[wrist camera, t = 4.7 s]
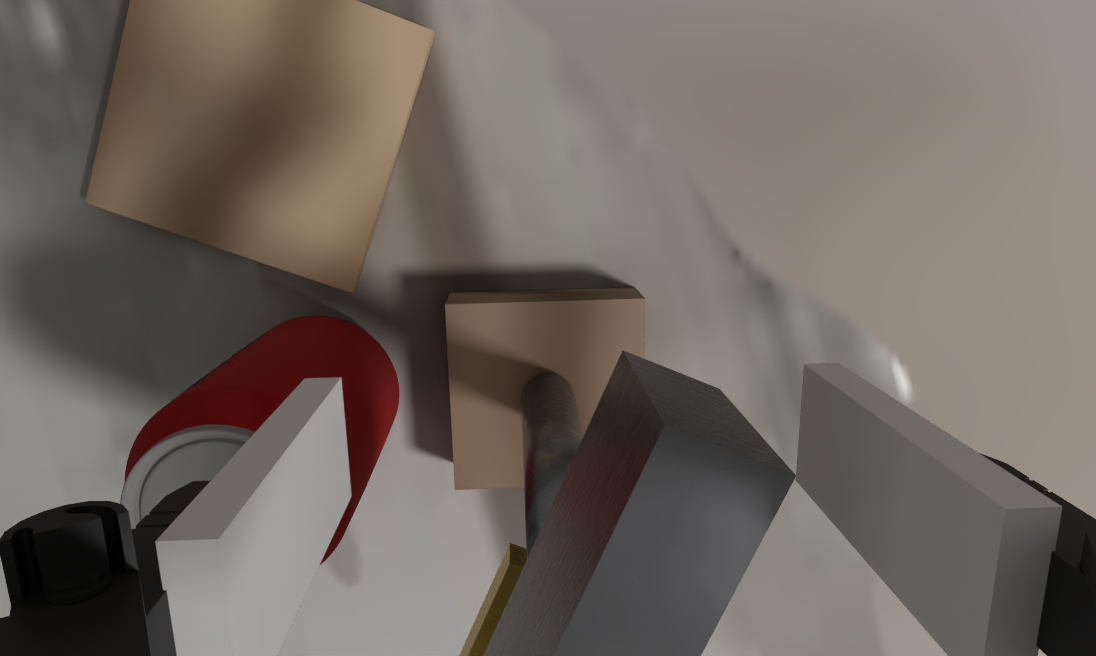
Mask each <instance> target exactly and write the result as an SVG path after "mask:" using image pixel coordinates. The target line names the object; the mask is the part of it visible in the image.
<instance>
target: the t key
mask: <svg viewBox="0 0 1096 656" xmlns="http://www.w3.org/2000/svg"><path fill="white" fill-rule="evenodd" d="M521 414H522V441H523V467H524V494H525V521H526V548H527V549H525V548H522V547H520V546H517V545H514V544H511V543H510V544H509V546H508V548H507V550H506V553H505V555H504V557H503V559H502V562H501V564H500V566H499V568H498V571H497V573H496V575H495V577H494V579H493V582H492V584H491V586H490V588H489V591H488V593H487V595H486V597H485V600H484V602H483V604H482V606H481V608H480V611H479V613H478V615H477V617H476V620H475V622H474V624H473V626H472V628H471V631H470V633H469V635H468V637H467V640H466V642H465V644H464V646H463V649H462V651H461V653H460V655H459V656H701V654H702V652H703V650H704V649H705V647H706V645H707V643H708V641H709V639H710V637H711V635H712V633H713V632H714V630H715V628H716V626H717V624H718V622H719V620H720V618H721V616H722V615H723V613H724V611H725V609H726V607H727V605H728V603H729V601H730V599H731V598H732V596H733V594H734V592H735V590H736V588H737V586H738V584H739V583H740V581H741V579H742V577H743V575H744V573H745V571H746V569H747V567H748V566H749V564H750V562H751V560H752V558H753V556H754V554H755V552H756V550H757V549H758V547H759V545H760V543H761V541H762V539H763V537H764V535H765V533H766V532H767V530H768V528H769V526H770V524H771V522H772V520H773V518H774V517H775V515H776V513H777V511H778V509H779V507H780V505H781V503H782V501H783V500H784V498H785V496H786V494H787V492H788V490H789V488H790V486H791V484H792V483H793V481H794V479H795V477H796V475H795V474H794V473H793V472H792V471H791V470H790V468H789V467H788V466H787V465H786V464H785V463H784V462H783V460H782V459H781V458H780V457H779V456H778V455H777V454H776V452H775V451H774V450H773V449H772V448H771V447H770V446H769V445H768V443H767V442H766V441H765V440H764V439H763V438H762V437H761V435H760V434H759V433H758V432H757V431H756V430H755V429H754V428H753V426H752V425H751V424H750V423H749V422H748V421H747V420H746V418H745V417H744V416H743V415H742V414H741V413H740V412H739V410H738V409H737V408H736V407H735V406H734V405H733V404H732V403H731V401H730V400H729V399H728V398H727V397H726V396H725V395H724V393H723V392H722V391H721V390H720V389H718V388H716V387H713V386H711V385H708V384H706V383H703V382H701V381H698V380H696V379H693V378H691V377H688V376H686V375H683V374H681V373H678V372H676V371H673V370H671V369H668V368H666V367H663V366H661V365H658V364H656V363H653V362H651V361H648V360H646V359H643V358H641V357H638V356H636V355H633V354H631V353H628V352H626V351H622V353H621V355H620V357H619V359H618V362H617V364H616V366H615V368H614V370H613V373H612V375H611V377H610V379H609V381H608V384H607V386H606V388H605V390H604V392H603V394H602V397H601V399H600V401H599V403H598V405H597V408H596V410H595V412H594V414H593V416H592V419H591V421H590V423H589V425H588V427H587V430H586V432H584V429H583V425H582V421H581V417H580V413H579V409H578V406H577V402H576V398H575V394H574V391H573V388H572V386H571V385H570V383H569V382H568V381H567V380H566V379H565V378H563V377H561V376H559V375H556V374H552V373H545V374H540V375H537V376H535V377H534V378H532V379H531V380H530V381H528V383H527V384H526V385H525V387H524V389H523V391H522V395H521Z"/></svg>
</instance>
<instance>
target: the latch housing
mask: <svg viewBox="0 0 1096 656" xmlns="http://www.w3.org/2000/svg"><path fill="white" fill-rule="evenodd" d="M445 317H446V335H447V353H448V372H449V390H450V408H451V427H452V445H453V463H454V482H455V490H463V489H488V488H513V487H524V467H523V441H522V414H521V395H522V391H523V389H524V387H525V385H526V384H527V383H528V381H530V380H531V379H532V378H534V377H535V376H537V375H540V374H545V373H552V374H556V375H559V376H561V377H563V378H565V379H566V380H567V381H568V382H569V383H570V385H571V386H572V388H573V391H574V394H575V398H576V402H577V406H578V409H579V413H580V417H581V421H582V425H583V429H584V432H586V430H587V427H588V425H589V423H590V421H591V419H592V416H593V414H594V412H595V410H596V408H597V405H598V403H599V401H600V399H601V397H602V394H603V392H604V390H605V388H606V386H607V384H608V381H609V379H610V377H611V375H612V373H613V370H614V368H615V366H616V364H617V362H618V359H619V357H620V355H621V353H622V351H626V352H628V353H631V354H633V355H636V356H638V357H641V358H643V359H644V355H645V298H644V297H643V296H642V295H641V293H640V292H639V291H638V290H637V289H636V288H635V287H630V288H595V289H560V290H525V291H489V292H454V293H450V294H449V296H448V298H447V301H446V303H445Z"/></svg>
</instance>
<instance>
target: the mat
mask: <svg viewBox="0 0 1096 656" xmlns="http://www.w3.org/2000/svg"><path fill="white" fill-rule="evenodd" d="M434 36H435V32H434V31H433V30H431V29H428V28H425V27H423V26H420V25H418V24H415V23H413V22H410V21H408V20H405V19H402V18H400V17H397V16H395V15H392V14H390V13H387V12H385V11H382V10H380V9H377V8H374V7H372V6H369V5H367V4H364V3H362V2H359V1H357V0H130V3H129V7H128V12H127V16H126V21H125V25H124V30H123V34H122V39H121V43H120V48H119V52H118V57H117V61H116V66H115V70H114V75H113V79H112V83H111V88H110V92H109V97H108V101H107V106H106V110H105V115H104V119H103V124H102V128H101V133H100V137H99V142H98V146H97V151H96V155H95V160H94V164H93V169H92V173H91V178H90V182H89V186H88V191H87V195H86V200H85V203H87V204H90V205H93V206H96V207H99V208H101V209H104V210H107V211H110V212H113V213H116V214H119V215H122V216H125V217H128V218H131V219H134V220H137V221H140V222H143V223H146V224H149V225H152V226H155V227H158V228H160V229H163V230H166V231H169V232H172V233H175V234H178V235H181V236H184V237H187V238H190V239H193V240H196V241H199V242H202V243H205V244H208V245H211V246H214V247H216V248H219V249H222V250H225V251H228V252H231V253H234V254H237V255H240V256H243V257H246V258H249V259H252V260H255V261H258V262H261V263H264V264H267V265H270V266H273V267H275V268H278V269H281V270H284V271H287V272H290V273H293V274H296V275H299V276H302V277H305V278H308V279H311V280H314V281H317V282H320V283H323V284H326V285H329V286H331V287H334V288H337V289H340V290H343V291H346V292H349V293H353V292H354V291H355V290H356V286H357V283H358V280H359V277H360V274H361V270H362V267H363V264H364V261H365V258H366V254H367V251H368V248H369V245H370V242H371V238H372V235H373V232H374V229H375V226H376V222H377V219H378V216H379V213H380V209H381V206H382V203H383V200H384V197H385V193H386V190H387V187H388V184H389V181H390V177H391V174H392V171H393V168H394V165H395V161H396V158H397V155H398V152H399V149H400V145H401V142H402V139H403V136H404V133H405V129H406V126H407V123H408V120H409V116H410V113H411V110H412V107H413V104H414V100H415V97H416V94H417V91H418V88H419V84H420V81H421V78H422V75H423V72H424V68H425V65H426V62H427V59H428V56H429V52H430V49H431V46H432V43H433V39H434Z"/></svg>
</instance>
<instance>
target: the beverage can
mask: <svg viewBox="0 0 1096 656" xmlns="http://www.w3.org/2000/svg"><path fill="white" fill-rule="evenodd" d="M332 377H341V378H342V390H343V401H344V413H345V425H346V436H347V448H348V460H349V471H350V483H351V494H352V497H351V499H350V501H349V503H348V505H347V507H346V509H345V512H344V514H343V516H342V518H341V520H340V522H339V524H338V527H337V529H336V531H335V533H334V535H333V537H332V539H331V542H330V544H329V546H328V548H327V550H326V552H325V554H324V557H323V559H322V561H321V563H320V565H321V564H322V563H323V562H324V561H325V560H326V559H327V558H328V557H329V556H330V555H331V554H332V552H333V551H334V550H335V548H336V547H337V546H338V544H339V542H340V541H341V539H342V537H343V535H344V533H345V530H346V529H347V527H348V525H349V523H350V520H351V518H352V516H353V514H354V512H355V510H356V507H357V505H358V503H359V501H360V499H361V497H362V494H363V492H364V490H365V488H366V486H367V483H368V481H369V479H370V476H371V474H372V472H373V469H374V467H375V465H376V463H377V460H378V458H379V456H380V453H381V451H382V449H383V446H384V444H385V441H386V439H387V436H388V434H389V432H390V429H391V427H392V424H393V422H394V419H395V416H396V413H397V410H398V404H399V384H398V379H397V375H396V371H395V369H394V366H393V364H392V362H391V360H390V358H389V356H388V355H387V353H386V352H385V350H384V349H383V348H382V347H381V345H380V344H379V343H378V342H377V341H376V340H375V339H374V338H373V337H372V336H370V335H369V334H368V333H367V332H365V331H364V330H362V329H361V328H359V327H357V326H355V325H353V324H351V323H349V322H346V321H344V320H340V319H337V318H332V317H326V316H306V317H299V318H295V319H292V320H288V321H286V322H283V323H281V324H279V325H277V326H275V327H274V328H272V329H271V330H269V331H268V332H266V333H265V334H263V335H262V336H260V337H259V338H258V339H256V340H255V341H253V342H252V343H250V344H249V345H247V346H246V347H245V348H243V349H242V350H240V351H239V352H237V353H236V354H235V355H233V356H232V357H230V358H229V359H227V360H226V361H225V362H223V363H222V364H221V365H219V366H218V367H217V368H215V369H214V370H212V371H211V372H210V373H208V374H207V375H206V376H204V377H203V378H202V379H200V380H199V381H197V382H196V383H195V384H193V385H192V386H191V387H189V388H188V389H187V390H185V391H184V392H183V393H182V394H180V395H179V396H178V397H176V398H175V399H174V400H172V401H171V402H170V403H168V404H167V405H166V406H164V407H163V408H162V409H161V410H159V411H158V412H157V413H156V414H155V415H154V416H153V417H152V418H151V419H150V420H149V421H148V422H147V423H146V424H145V426H144V427H143V428H142V430H141V431H140V433H139V434H138V436H137V438H136V440H135V441H134V444H133V446H132V448H131V451H130V454H129V457H128V461H127V465H126V471H125V484H124V487H123V491H122V495H121V501H120V504H122V505H124V507H125V508H126V509H127V510H128V511H129V517H130V523H131V529H136V525H137V524H138V523H139V522H140V521H141V520H142V519H143V518H144V517H145V516H146V515H149V512H150V511H151V510H152V509H153V508H154V507H155V506H156V505H157V504H158V503H159V502H160V501H161V500H162V499H163V498H164V497H165V496H166V495H168V494H170V493H172V492H174V491H175V490H177V489H179V488H181V487H183V486H185V485H186V484H188V483H190V482H192V481H211V480H212V479H213V478H214V477H215V476H216V475H217V474H218V472H219V471H220V470H221V469H222V468H223V467H224V466H225V465H226V464H227V463H228V462H229V460H230V459H231V458H232V457H233V456H234V455H235V454H236V453H237V452H238V451H239V450H240V448H241V447H242V446H243V445H244V444H245V443H246V442H247V441H248V440H249V439H250V438H251V436H252V435H253V434H254V433H255V432H256V431H257V430H258V429H259V428H260V427H261V426H262V424H263V423H264V422H265V421H266V420H267V419H268V418H269V417H270V416H271V415H272V414H273V412H274V411H275V410H276V409H277V408H278V407H279V406H280V405H281V404H282V403H283V402H284V401H285V399H286V398H287V397H288V396H289V395H290V394H291V393H292V392H293V391H294V390H295V389H296V387H297V386H298V385H299V384H300V383H301V382H302V381H303V380H304V379H305V378H332ZM320 565H319V566H320Z"/></svg>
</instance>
